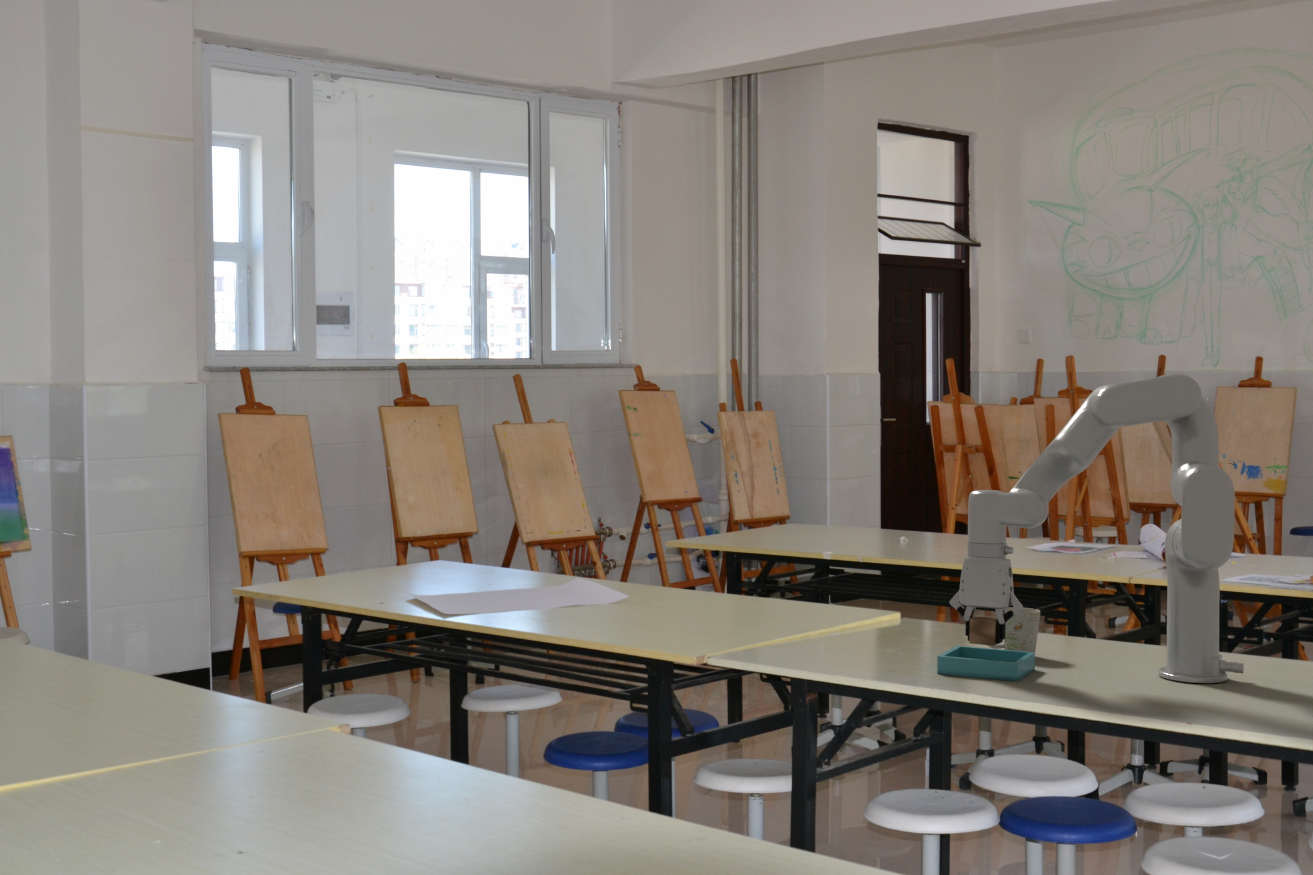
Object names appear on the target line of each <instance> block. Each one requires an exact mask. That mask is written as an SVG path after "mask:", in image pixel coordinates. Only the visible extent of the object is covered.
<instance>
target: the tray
mask: <svg viewBox="0 0 1313 875" xmlns="http://www.w3.org/2000/svg"><path fill="white" fill-rule="evenodd" d="M936 658H937V663H936V664H937V666H936V667H937V669H936V673H937V675H945V676H958V677H966V678H967V677H968V678H976V679H977V678H978V679H986V680H987V679H988V680H995V681H997V680H998V681H1007V682H1018V683H1019V681H1022V680H1023V679H1024V678H1025V677H1027V676H1028V675H1030V674H1031V673H1032V672H1034V671H1035V670H1036V651H1035V652H1024V651H1013V650H1005V649H1003V648H1001V649H994V648H991V647H979V646H967V645H965V646H964V645H956V646H954V647H952V648H950V649H948V650H946V651H944V652H943V653H940V654H939V655H937V657H936Z"/></svg>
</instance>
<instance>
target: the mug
mask: <svg viewBox="0 0 1313 875" xmlns="http://www.w3.org/2000/svg"><path fill="white" fill-rule="evenodd" d="M1012 608H1013V606H1012V607H1011V606H1010V607H1007V608H1005V611H1006V613H1007V612H1008V611H1009V610H1011V609H1012ZM1040 617H1041V610H1040V609H1036V608H1029V607H1023V609H1022V610H1021V611H1019V612H1018V613H1016V614H1015V615H1014V616H1012V617H1011V618H1010V619H1009V620H1008V621H1007V622H1006V629H1005V639H1003V644H1002V643H1000V644H997V645H995V646H991V645H986V646H987V647H988V648H990V649H1003V650H1013V651H1024V652H1035V653H1036V649H1037V648H1036V647H1037V640H1038V632H1039V626H1040Z"/></svg>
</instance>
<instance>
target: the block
mask: <svg viewBox="0 0 1313 875" xmlns="http://www.w3.org/2000/svg"><path fill="white" fill-rule="evenodd" d="M997 623H998V618H997V616H988V615H978V614H977V615H973V617H972V618H970V635H969V641H968V642H969V643H968V644H971V645H983V646H987V645H991V646H995V645H998V644H996V624H997Z"/></svg>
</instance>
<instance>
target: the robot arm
mask: <svg viewBox="0 0 1313 875" xmlns="http://www.w3.org/2000/svg"><path fill="white" fill-rule="evenodd" d="M1202 396H1203V392H1202V389H1201V386H1200V385H1199V383H1198V381H1196V379H1194V378H1193V377H1191V376H1189V375H1187V374H1184V373H1172V374H1163V375H1159V376H1157V377H1152V378H1146V379H1142V380H1133V381H1126V382H1119V383H1110V384H1104V385H1100V386H1098V387H1097V388H1095V389H1094V390H1093V391H1092V392H1091V393H1089V395H1088V397H1087V398H1086V399H1085V400H1084V401H1083V402H1082V404H1081V405H1080V406H1079V408H1078V409H1077V410H1076V411H1075V413H1073V415H1072V416H1071V418H1070V419H1069V420H1068V421H1067V423H1066V424H1065V426H1063V427H1062V429H1061V430H1060V432H1059V433H1058V434H1056V436H1055V437H1054V439H1053V440H1052V441H1051V442H1050V443H1049V444H1048V445H1047V447H1045V449H1043V452H1042V453H1041V454H1040V455H1039V456H1038V458H1037V459H1036V460H1035V461H1033V463H1032V464H1031V465H1030V466H1029V467H1028V468H1027V470H1026V471H1025V472H1024V473H1023V475H1022V476H1021V477H1020V478H1019V479H1018V481H1017V482H1016V483H1015V485H1014V486H1013V487H1012V489H1010V491H1009V492H1004V491H1001V490H995V489H994V490H993V489H977V490H973V491H971V492H970V493H969V495H968V501H967V503H968V504H967V505H968V506H967V507H968V508H967V510H968V511H967V514H968V515H967V556H964V558H963V561H962V567H961V574H960V580H959V581H960V583H959V590H958V591H957V592H956V593H955V594H954V595H953V597H952V598H950V600H949V602H948V603H949V604H950V606H951V607H952V608H954V610H956V611H957V612H958V614H960V616H962V618H963V620H964V621H965V636H966V637H967V641H968V642H969V635H970V618H972V617H974V616H975V612H976V608H978V609H979V608H981V609H991V610H992V609H993V610H995V614H996V617H997V618H998V623H997V624H996V644H997V645H999V644H1002V643H1004V641H1003V639H1005V629H1006V622H1007V621H1008V620H1009V619H1010V618H1011V617H1012V616H1014V615H1015V614H1016V613H1018V612H1019V611H1021V610H1022V609H1023V608H1024V606H1023V604H1022V603H1021V601H1019V599H1018V598H1017V597H1016V595H1015V593H1014V578H1013V576H1014V575H1013V569H1012V568H1013V567H1012V562H1011V559H1010V558H1007V556H1008V555H1011V554H1013V553H1014V547H1012V546H1008V543H1007V526H1009V527H1015V528H1020V529H1021V528H1023V529H1034V528H1036V527H1039V526H1041V525H1042V524H1043V523H1045V521H1046V520H1047V518H1048V515H1049V506H1048V504H1049V503H1050V501H1051V500H1052V499H1053V498H1054V496H1055V495H1056V494H1057V493H1058V492H1059V490H1060V489H1061V488H1062V487H1063V486H1064V485H1065V484H1067V483H1068V482H1069V481H1070V480H1071V479H1073V478H1075V477H1076V476H1078V475H1080V474H1081V473H1082V472H1084V471H1085V470H1086V469H1087V468H1089V467H1090V465H1091V464H1092V463H1093V461H1095V459H1096V458H1097V456H1098V455H1099V454H1100V453H1101V452H1102V450H1103V449H1104V448H1105V447H1106V445H1107V444H1108V442H1110V440H1111V439H1112V438H1113V437H1114V436H1115V434H1116V433H1117V432H1118V431H1119V430H1120V429H1121V428H1123V427H1130V426H1138V425H1145V424H1146V425H1147V424H1151V423H1157V422H1158V423H1159V422H1163V421H1164V422H1165V423H1166V425H1167V426H1168V428H1169V430H1170V436H1171V448H1172V452H1171V453H1172V454H1171V476H1170V478H1171V479H1170V493H1171V497H1172V498H1173V500H1174V502H1176V504H1178V505H1179V506H1180V507H1181V518H1180V519H1178V520H1175V522H1174V523H1172V525H1170V526H1169V528H1168V530H1167V532H1166V535H1165V539H1164V556H1165V563H1166V581H1167V582H1166V584H1167V586H1166V587H1167V591H1166V592H1167V593H1166V594H1167V597H1166V609H1167V610H1166V666H1161V667H1160V668H1158V669H1157V670H1158V671H1157V672H1158V676H1159V677H1161V678H1162V679H1163V678H1164V679H1166V680H1171V681H1176V682H1183V683H1191V684H1193V683H1196V684H1217V683H1224V682H1226V681H1227V680H1228V673H1233V674H1244V672H1245V664H1244V662H1243V663H1241V662H1236V661H1226V660H1225V659H1223V654H1222V653H1221V654H1220V600H1221V598H1220V595H1221V594H1220V593H1221V592H1220V590H1221V589H1220V588H1221V587H1220V575H1219V574H1220V573H1219V568H1221V567H1223V566H1224V565H1225V564H1226V563H1227V562H1228V561H1229V559H1230V558H1231V556H1232V553H1233V550H1234V549H1233V548H1234V541H1235V540H1234V539H1235V514H1236V512H1235V511H1236V509H1235V508H1236V495H1235V494H1236V493H1235V486H1234V483H1233V480H1232V478H1231V476H1230V475H1229V473H1228V472H1227V471H1226V470H1224V469H1223V468H1222V467H1220V449H1219V447H1220V446H1219V443H1220V442H1219V441H1220V440H1219V430H1218V428H1219V427H1218V425H1217V420H1216V417H1215V415H1214V413H1213V411H1212V409H1211V408H1210V405H1209V404H1208V403H1207V402H1206V400H1205V399H1204V398H1203V397H1202ZM1011 606H1012V607H1013V608H1012V609H1011V610H1009V611H1008V612H1007V613H1006V611H1005V608H1009V607H1011Z"/></svg>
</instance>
